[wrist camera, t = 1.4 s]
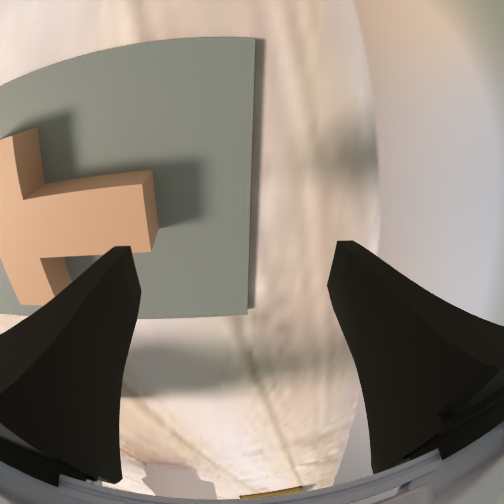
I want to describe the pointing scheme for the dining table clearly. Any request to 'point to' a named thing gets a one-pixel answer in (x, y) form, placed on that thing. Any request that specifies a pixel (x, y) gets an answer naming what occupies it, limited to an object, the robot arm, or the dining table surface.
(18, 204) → the t block
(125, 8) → the dining table surface
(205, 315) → the board
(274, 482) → the dining table surface
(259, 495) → the diary
